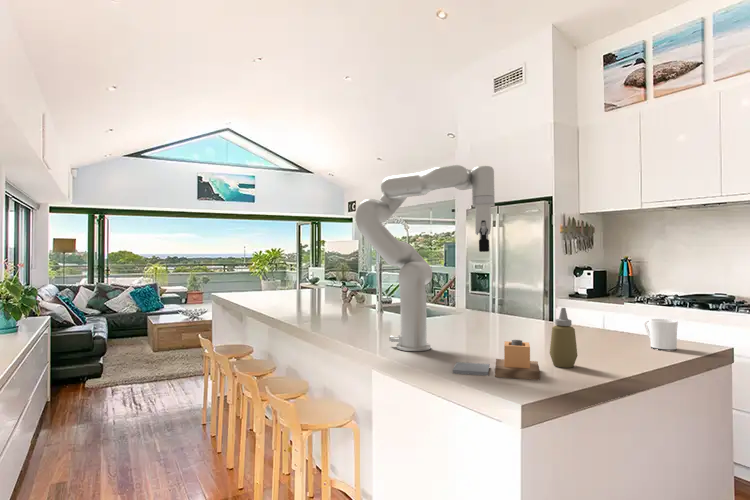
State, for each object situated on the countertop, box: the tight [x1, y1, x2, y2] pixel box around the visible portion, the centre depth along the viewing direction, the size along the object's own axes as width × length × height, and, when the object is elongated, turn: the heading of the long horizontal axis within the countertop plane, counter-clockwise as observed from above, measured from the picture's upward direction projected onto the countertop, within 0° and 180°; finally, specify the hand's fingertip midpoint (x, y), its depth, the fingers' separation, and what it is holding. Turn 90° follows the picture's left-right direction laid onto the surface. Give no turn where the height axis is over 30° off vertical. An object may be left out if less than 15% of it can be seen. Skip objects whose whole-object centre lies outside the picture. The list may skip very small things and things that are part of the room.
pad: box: [452, 361, 491, 376], centre depth 143 cm, size 10×10×1 cm
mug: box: [643, 318, 679, 351], centre depth 175 cm, size 11×9×10 cm
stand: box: [494, 339, 541, 381], centre depth 140 cm, size 12×12×10 cm
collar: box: [503, 341, 531, 368], centre depth 140 cm, size 7×7×6 cm
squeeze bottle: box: [549, 307, 578, 369], centre depth 148 cm, size 8×8×18 cm
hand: (484, 251), depth 166 cm, fingers open, 9 cm apart
